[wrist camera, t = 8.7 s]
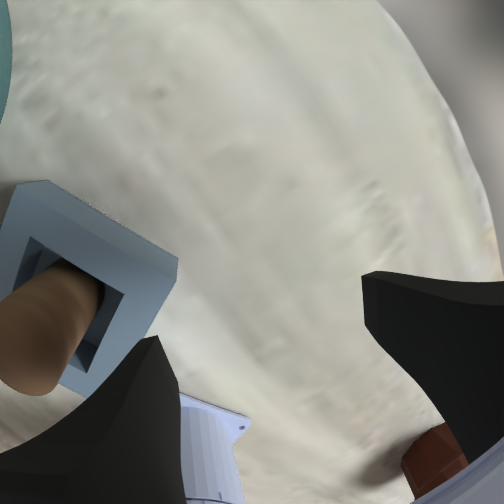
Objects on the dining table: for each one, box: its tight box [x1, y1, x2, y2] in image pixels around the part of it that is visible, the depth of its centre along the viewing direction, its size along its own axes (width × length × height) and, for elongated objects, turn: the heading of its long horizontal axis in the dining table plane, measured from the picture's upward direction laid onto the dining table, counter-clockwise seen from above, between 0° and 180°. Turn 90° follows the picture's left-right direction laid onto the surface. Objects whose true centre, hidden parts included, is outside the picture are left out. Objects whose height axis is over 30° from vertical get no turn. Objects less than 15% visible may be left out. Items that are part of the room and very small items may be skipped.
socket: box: [0, 180, 178, 398], centre depth 16 cm, size 10×10×4 cm
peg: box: [0, 257, 105, 396], centre depth 13 cm, size 4×4×8 cm
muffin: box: [401, 422, 469, 501], centre depth 27 cm, size 12×11×10 cm
